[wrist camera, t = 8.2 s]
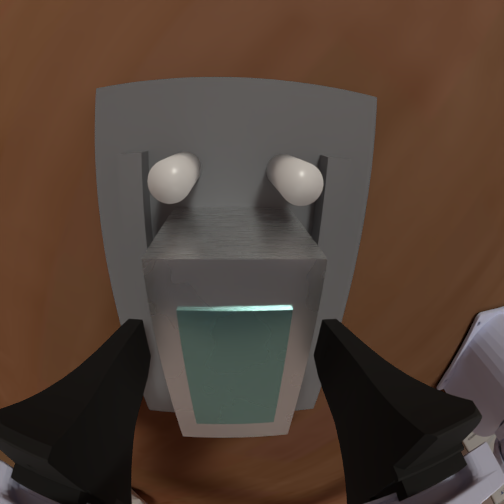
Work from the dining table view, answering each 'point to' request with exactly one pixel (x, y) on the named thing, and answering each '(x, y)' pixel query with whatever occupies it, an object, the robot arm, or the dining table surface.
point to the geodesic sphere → (136, 498)
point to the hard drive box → (475, 441)
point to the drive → (233, 316)
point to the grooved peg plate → (230, 178)
